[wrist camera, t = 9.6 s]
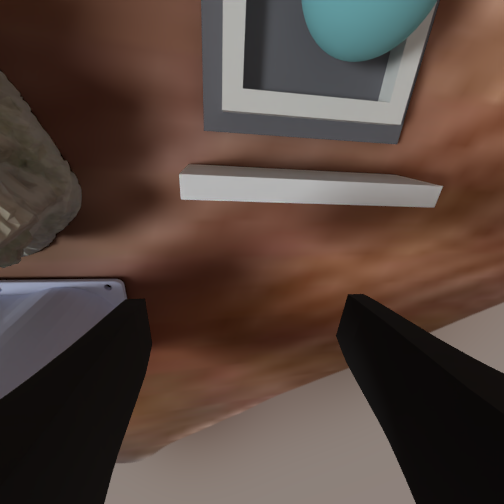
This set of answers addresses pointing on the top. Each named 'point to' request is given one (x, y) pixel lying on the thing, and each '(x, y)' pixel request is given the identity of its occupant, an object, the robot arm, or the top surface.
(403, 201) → the wall
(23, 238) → the jagged rock
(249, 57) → the mat
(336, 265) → the top surface
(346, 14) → the ball
